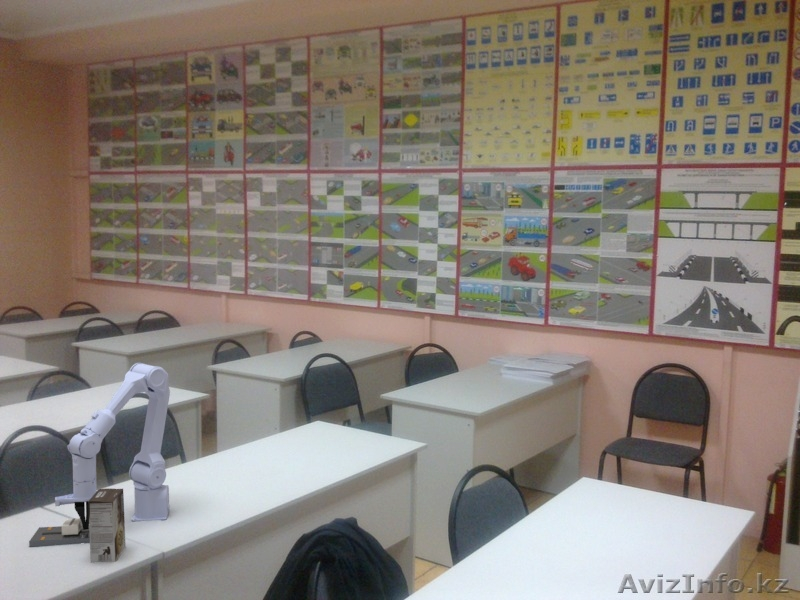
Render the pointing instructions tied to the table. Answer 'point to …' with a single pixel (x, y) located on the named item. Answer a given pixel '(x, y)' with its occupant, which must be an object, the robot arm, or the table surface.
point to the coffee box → (106, 525)
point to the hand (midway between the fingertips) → (85, 528)
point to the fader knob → (71, 526)
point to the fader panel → (58, 537)
